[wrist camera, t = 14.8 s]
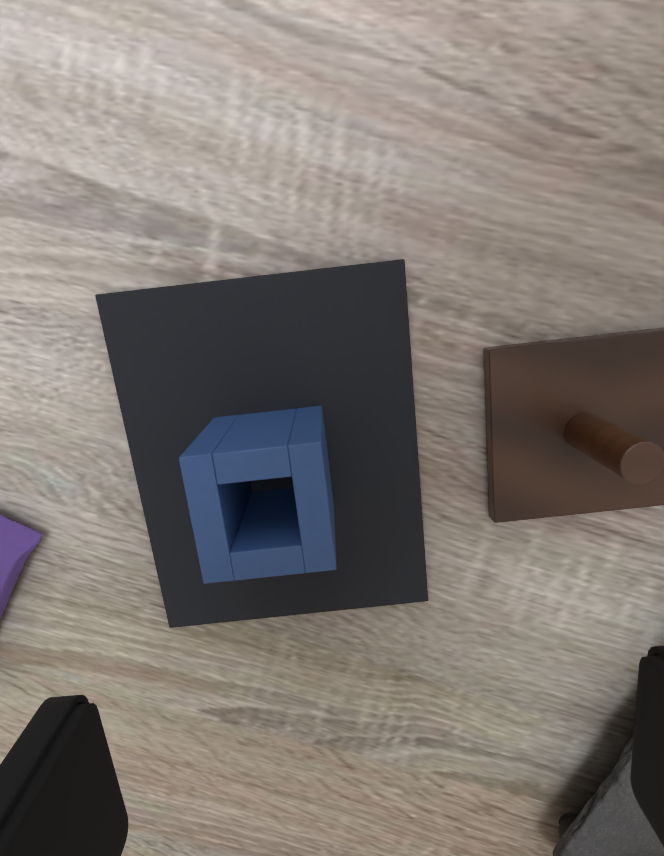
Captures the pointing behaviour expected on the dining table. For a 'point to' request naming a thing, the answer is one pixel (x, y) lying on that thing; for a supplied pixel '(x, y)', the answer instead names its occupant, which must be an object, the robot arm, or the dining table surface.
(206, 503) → the block
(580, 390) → the dowel stand
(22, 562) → the snack package
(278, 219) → the dining table surface
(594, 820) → the serving tray
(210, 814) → the dining table surface
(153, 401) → the mat
